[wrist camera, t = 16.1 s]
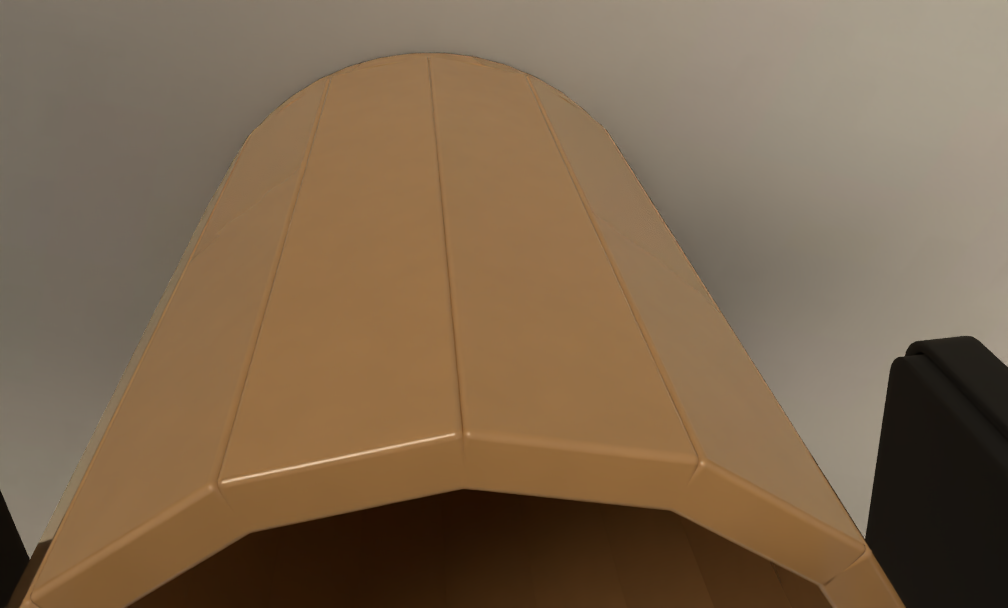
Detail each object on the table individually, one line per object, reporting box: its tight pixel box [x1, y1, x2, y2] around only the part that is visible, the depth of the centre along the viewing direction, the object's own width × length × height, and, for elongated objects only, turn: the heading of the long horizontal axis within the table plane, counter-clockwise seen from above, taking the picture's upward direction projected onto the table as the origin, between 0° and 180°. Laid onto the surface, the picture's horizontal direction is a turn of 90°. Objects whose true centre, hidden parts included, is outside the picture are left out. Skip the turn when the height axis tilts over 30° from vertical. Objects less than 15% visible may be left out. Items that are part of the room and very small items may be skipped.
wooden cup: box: [6, 53, 907, 608], centre depth 10 cm, size 7×7×9 cm
